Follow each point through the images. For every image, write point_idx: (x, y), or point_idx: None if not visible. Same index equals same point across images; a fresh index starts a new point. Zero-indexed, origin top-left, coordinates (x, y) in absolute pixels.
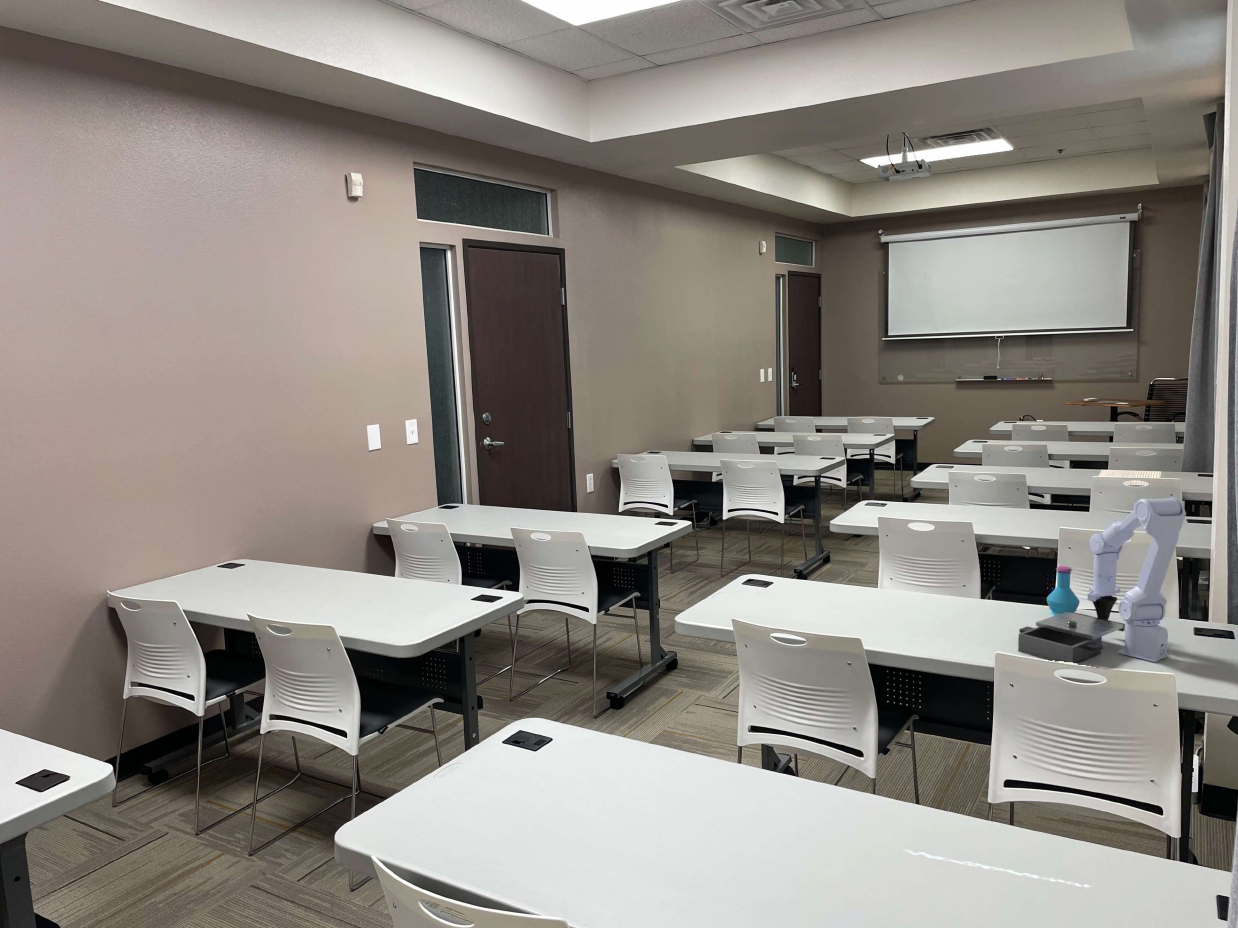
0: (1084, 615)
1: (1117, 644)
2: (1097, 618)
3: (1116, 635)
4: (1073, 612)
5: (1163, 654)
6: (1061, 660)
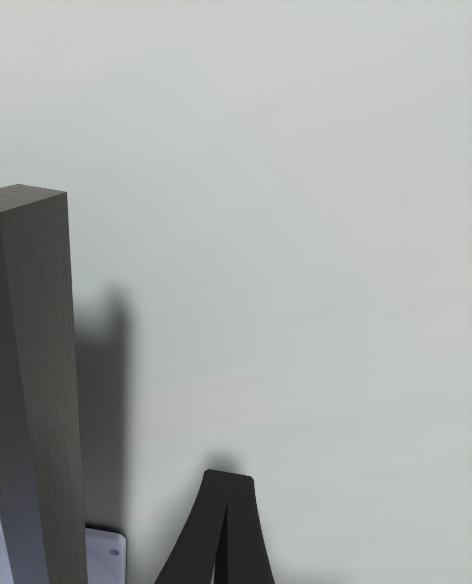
0: (1, 450)
1: (123, 481)
2: (17, 554)
3: (301, 449)
4: (10, 310)
5: None
6: None
